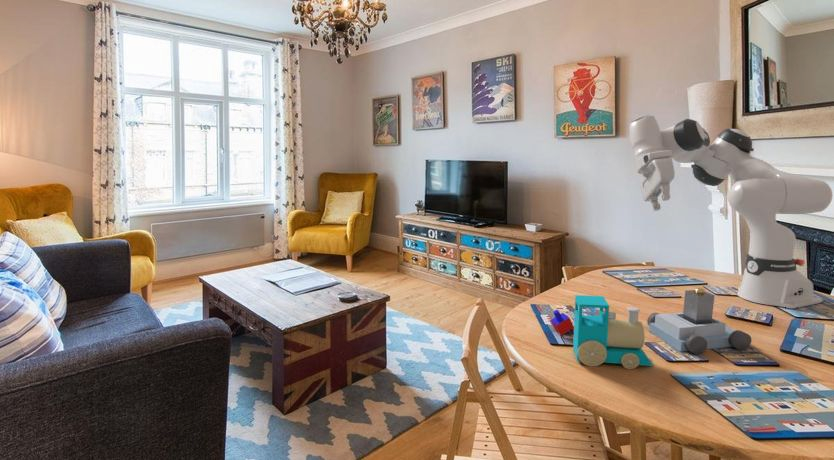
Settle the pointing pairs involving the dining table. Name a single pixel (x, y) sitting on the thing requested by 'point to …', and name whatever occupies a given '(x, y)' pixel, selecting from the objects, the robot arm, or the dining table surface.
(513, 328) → the dining table surface
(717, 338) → the chassis
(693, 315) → the engine block
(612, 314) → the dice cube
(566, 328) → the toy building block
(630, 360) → the toy train
